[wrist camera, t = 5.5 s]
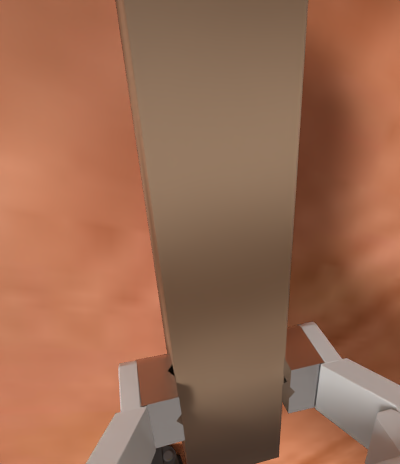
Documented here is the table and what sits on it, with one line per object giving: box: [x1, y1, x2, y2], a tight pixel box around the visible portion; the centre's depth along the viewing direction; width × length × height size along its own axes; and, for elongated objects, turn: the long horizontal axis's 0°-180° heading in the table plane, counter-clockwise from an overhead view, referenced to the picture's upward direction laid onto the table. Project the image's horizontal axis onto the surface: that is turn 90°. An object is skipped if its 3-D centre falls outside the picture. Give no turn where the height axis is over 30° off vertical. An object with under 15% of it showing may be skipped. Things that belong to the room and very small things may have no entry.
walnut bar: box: [115, 0, 308, 464], centre depth 10 cm, size 14×3×3 cm, turn 3°
